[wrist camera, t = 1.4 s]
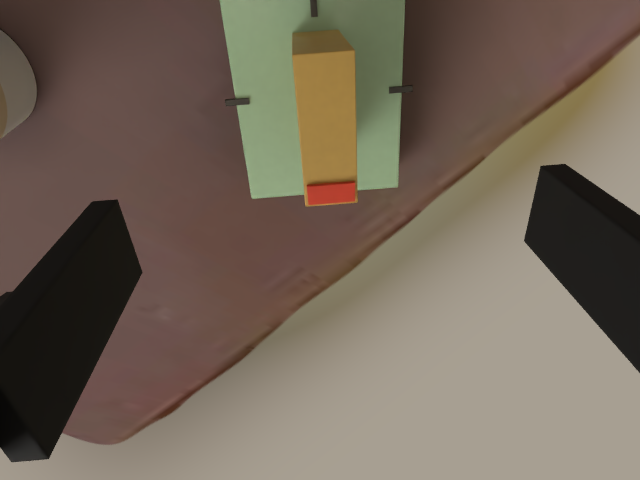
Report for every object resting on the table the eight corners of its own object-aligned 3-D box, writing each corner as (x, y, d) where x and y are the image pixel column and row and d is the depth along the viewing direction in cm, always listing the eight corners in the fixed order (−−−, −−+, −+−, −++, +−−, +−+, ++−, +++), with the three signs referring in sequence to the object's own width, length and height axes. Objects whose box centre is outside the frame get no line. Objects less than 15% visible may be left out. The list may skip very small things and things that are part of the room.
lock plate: (212, -26, 25) (202, -25, 22) (405, -39, 25) (419, -41, 22) (246, 181, 32) (242, 201, 29) (397, 169, 32) (407, 187, 29)
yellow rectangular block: (291, 32, 24) (291, 55, 17) (338, 29, 24) (356, 50, 17) (302, 152, 28) (305, 209, 21) (342, 149, 28) (358, 205, 21)
